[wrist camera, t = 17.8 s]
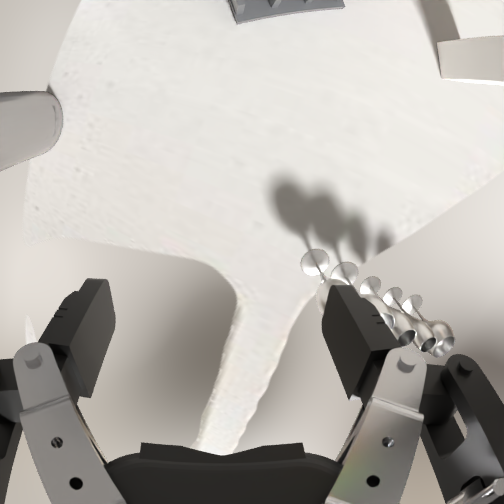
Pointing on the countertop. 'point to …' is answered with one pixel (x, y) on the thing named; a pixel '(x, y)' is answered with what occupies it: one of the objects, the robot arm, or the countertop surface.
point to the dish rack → (278, 8)
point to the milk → (473, 60)
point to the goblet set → (383, 305)
